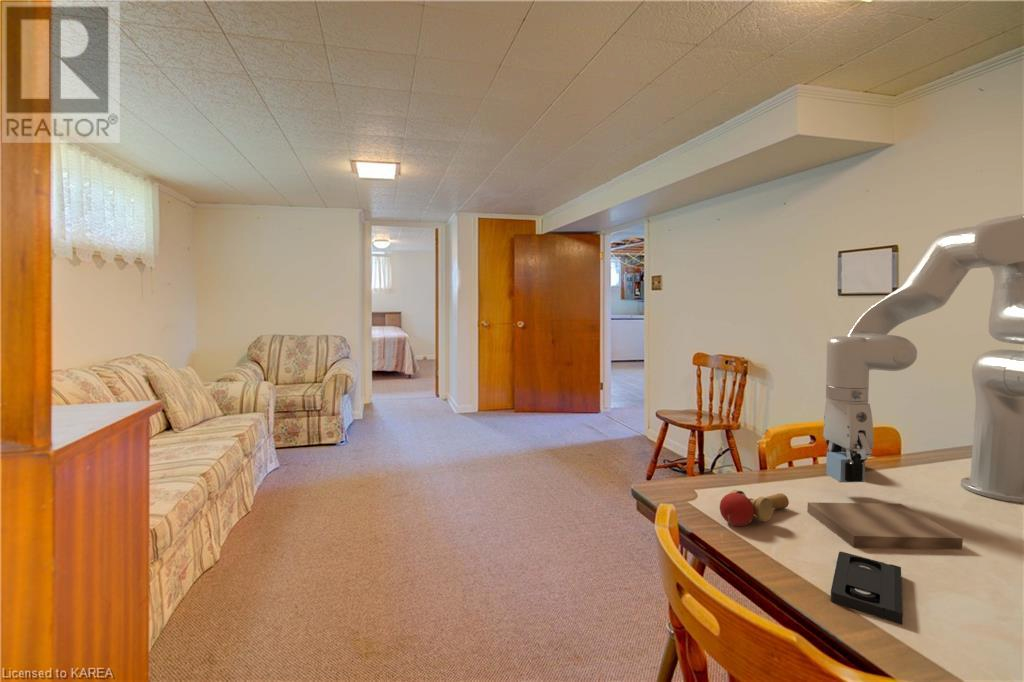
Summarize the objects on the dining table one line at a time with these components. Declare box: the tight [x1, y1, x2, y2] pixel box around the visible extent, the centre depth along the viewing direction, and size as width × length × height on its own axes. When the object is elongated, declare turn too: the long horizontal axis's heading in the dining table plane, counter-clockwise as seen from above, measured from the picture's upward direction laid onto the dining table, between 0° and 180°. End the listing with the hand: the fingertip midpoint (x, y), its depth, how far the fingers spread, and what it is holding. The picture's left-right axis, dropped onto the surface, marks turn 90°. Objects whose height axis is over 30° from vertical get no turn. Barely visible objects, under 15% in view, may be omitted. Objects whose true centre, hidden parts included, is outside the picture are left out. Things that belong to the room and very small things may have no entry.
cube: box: [825, 451, 866, 483], centre depth 105 cm, size 5×5×5 cm
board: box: [807, 501, 964, 550], centre depth 89 cm, size 18×14×2 cm
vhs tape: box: [829, 551, 904, 626], centre depth 71 cm, size 14×8×2 cm, turn 142°
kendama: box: [719, 489, 790, 527], centre depth 95 cm, size 8×6×18 cm
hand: (845, 475), depth 105 cm, fingers closed on cube, 5 cm apart
